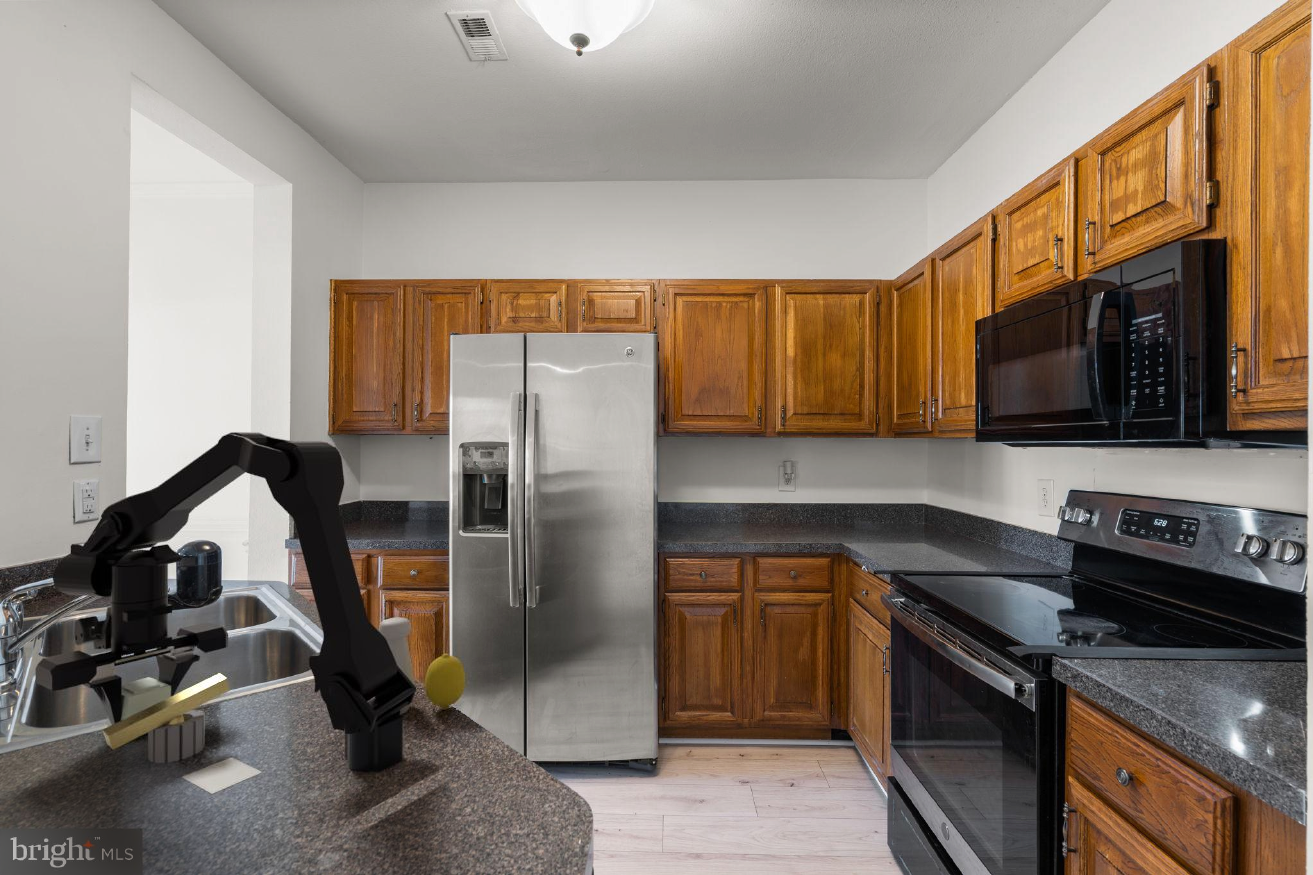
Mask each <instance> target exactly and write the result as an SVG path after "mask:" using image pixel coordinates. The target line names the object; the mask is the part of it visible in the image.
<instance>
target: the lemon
mask: <svg viewBox="0 0 1313 875" xmlns="http://www.w3.org/2000/svg"><path fill="white" fill-rule="evenodd" d="M465 688H466V672H465V668H464V666H463V663H462V662H461V660H459V659H458V658H457V657H455V656H453V655H449V653H443V654H442V655H441V656H439V657H437V658H436V659H434V660H433V661H432V662H431V663H430V665H429V666H428V668H427V670H426V674H425V679H424V689H425V693H426V697H427V699H428V700H429V701H430V702H431V703H432V704H433V705H435V706H437V707H440V708H441V709H442V710H443V711H444V710H448V708H450V706H451V705H454V704H455V703H456V702H458V701H459V700H460V698H461V697H462V695H463V694H464V691H465ZM448 704H449V705H450V706H449V705H448Z"/></svg>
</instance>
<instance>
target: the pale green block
mask: <svg viewBox="0 0 1313 875" xmlns="http://www.w3.org/2000/svg"><path fill="white" fill-rule="evenodd" d="M158 680H159V679H156V678H152V677H151V676H147V677H144V678H139V679H137V680H132V681H130V682H125V683H122V717H121V721H122V720H124V719H126V718H128V717H130V716H132V715H134V714H136V713H138V712H140V711H142V710H145V709H147V708H149V707H151V706H153V705H155V704H157V703H159V702H161V701H163V700H165V699H167V698H169V697H171V686H170V685H168V684H165V683H163V682H160V681H158ZM106 717H107V719H106V720H107V723H106V724H107V725H106V726H107V727H109V726H111V725H112V724H111V722H110V720H109V718H108V716H106ZM107 727H106V728H107Z"/></svg>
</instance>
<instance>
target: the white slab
mask: <svg viewBox="0 0 1313 875" xmlns="http://www.w3.org/2000/svg"><path fill="white" fill-rule="evenodd" d="M205 715H206V713H205V711H202V710H200V709H193V710H191V711H189V712H187V713H185V714H183V718H184V722H181V723H177V724H171V725H164V724H163V725H161V726H159V727H157V728H155V729H153V730H151V731H149V732H147V761H149V762H151V763H154V764H165V763H172V762H179V761H180V759H182V760H185V759H188V758H191V757H193V756H194V755H197V754H199V753H200V752H201V751H202V750H204V747H205V741H206V740H205V737H206V736H205V734H206V732H205V731H206V730H205V729H206V727H205V726H206V723H205V722H206V721H205V720H206V719H205V718H206V717H205ZM261 774H263V771H262V770H261V771H260V770H259V769H257V768H254V767H252V766H250V765H248V764H246V763H245V762H244V763H243V762H242V761H240V760H238V759H236V758H235V757H229V758H226V759H224V760H222V761H219V762H217V763H214V764H211V765H209V766H206V767H203V768H202V769H198V770H196V771H194V772H191V773H188V774H186V775H183V776H181V778H182V779H184V781H187V782H189V783H191V784H193V785H194V786H197V787H198V788H200V789H201V790H202V791H206V792H207V793H208V794H211V795H214V794H216V793H218V792H220V791H222V790H225V789H227V788H230V787H232V786H234V785H237V784H239V783H242V782H244V781H247V780H249V779H251V778H254V777H255V776H257V775H261Z"/></svg>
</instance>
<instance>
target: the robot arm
mask: <svg viewBox="0 0 1313 875" xmlns="http://www.w3.org/2000/svg"><path fill="white" fill-rule="evenodd" d="M342 459H343V458H342V456H341V453H340V451H339V449H338V448H337V447H336V446H333V445H331V443H328V442H325V441H321V440H320V441H307V440H306V441H302V440H301V441H299V440H297V441H293V440H287V439H284V438H278V437H272V436H269V435H266V434H263V433H260V432H247V431H246V432H240V431H239V432H238V431H236V432H234V431H233V432H229V433H227V434H225V435H222V436H221V437H220V438H219V440H218V442H217V443H216V444H214V446H212V447H211V448H209V449H208V450H206V451H205V452H203V453H202V454H201V455H199V456H198V457H196V458H195V459H194V460H193V461H191V462H190V463H188V464H186V466H184V467H183V468H182V469H180V470H178V471H177V472H176V473H175V474H173V475H172V476H170V477H169V478H168V479H166V480H165V481H164V482H162V483H161V484H159V485H158V486H157V487H154V488H151V489H149V490H146V491H143V492H140V493H136V494H132V495H130V496H127V497H125V498H122V499H120V500H118V501H116V502H114V503H111V504H110V505H108V506H107V507H105V509H104V510H103V512H102V514H101V515H100V517H101V518H100V520H99V521H98V523H97V524H96V526H95V527H94V529H93V530H92V532H91V533H90V535H89V537H88V539H87V540H86V541H84V542H77V543H72V544H70V553H69V554H67V555H66V556H64V557H63V558H62V559H61V560H59V562H58V563H57V565H56V567H55V570H54V572H53V573H52V581H53V585H54V587H55V588H56V589H57V591H59V592H60V593H62V594H65V595H69V596H86V597H88V596H89V597H102V598H103V597H105V598H107V597H109V598H110V606H108V607H106V608H107V609H106V612H105V619H103V620H99V619H98V617H97V616H96V615H93V616H89V617H84V618H83V617H82V618H78V619H77V620H74V630H73V631H74V632H73V634H74V642H75V644H76V646H83V645H86V644H91V643H93V648H94V650H95V651H96V650H97V651H99V650H102V649H103V650H110V651H107V652H102V653H98V654H95V655H91V654H88V653H86V652H84V651H81V650H74V651H71V652H66V653H62V654H56V655H52V656H47V657H46V656H45V657H43V658H42V659H41V660H39V662H38V664H37V665H36V666H35V672H34V673H35V675H34V676H35V679H34V680H35V683H36V684H38V685H40V686H41V687H43V688H46V689H48V690H50V691H52V692H54V691H62V690H66V689H69V688H70V689H71V688H74V687H77V686H84V687H87V688H89V689H92V690H93V692H94V693H95V695H96V696H97V697H98V699H99V700H100V703H101V705H102V707H103V709H104V711H105V713H106V715H107V716H106V717H108V718H109V720H110V722H111V724H112V725H113V724H116V723H118V722H120V721H121V717H122V684H123V682H122V681H123V680H122V678H123V677H122V676H119V675H117V674H115V667H117V666H121V665H125V664H129V663H134V662H138V661H142V660H146V659H150V658H154V657H155V658H156V663H157V666H158V679H157V680H158V681H160V682H163V683H165V684H168V685H170V686H171V697H172V696H174V695H176V694H175V693H176V692H177V689H178V688H179V686H180V684H181V682H182V681H183V680H184V678H185V676H186V675H187V674H188V671H189V670H190V668H191V667H192V665H193V664H194V663H196V662H199V661H200V660H201V656H200V655H199V654H196V649H197V650H199V651H201V652H202V653H205V654H207V653H211V652H215V651H218V650H222V649H227V648H228V647H229V633H228V631H227V629H226V628H225V627H224V626H220V625H217V624H213V623H210V622H202V623H199V624H194V625H193V624H192V625H189V626H184V627H179V629H178V631H177V633H176V636H171V635H169V634H168V631H169V629H168V627H169V626H168V625H169V622H168V621H169V620H168V618H169V617H168V614H173V604H170V603H169V602H168V600H169V598H168V597H169V565H171V564H175V563H180V562H182V561H183V557H182V555H180V553H179V552H177V551H175V550H173V549H172V548H171V546H170V545H169V544H160V545H158V544H159V543H164V542H165V543H166V542H168V541H170V540H172V539H173V538H174V537H175V536H176V535H177V534H178V533H179V532H180V531H181V530H182V529H183V528H184V527H185V526H186V525H187V524H188V522H189V519H190V518H189V516H190V514H191V513H192V511H194V509H195V508H197V507H199V506H200V505H201V504H202V503H204V502H205V501H207V500H209V499H210V498H211V497H213V496H214V495H216V494H217V493H219V491H221V490H223V489H224V488H225V487H227V486H228V485H230V484H231V483H232V482H234V481H236V480H237V479H238V478H240V477H241V476H243V475H244V474H246V473H247V474H249V475H252V476H255V477H259V478H263V479H265V481H266V484H267V486H268V488H269V491H270V493H271V495H272V498H273V500H275V502H277V504H279V506H280V507H281V508H283V510H285V512H286V513H287V514H288V515H289V516H290V517H291V518H292V521H293V522H294V526H295V530H296V533H297V538H298V541H299V544H300V549H301V553H302V556H303V561H304V564H305V569H306V572H307V573H306V574H307V577H308V579H309V582H310V587H311V590H312V595H313V599H314V603H315V606H316V611H317V614H318V618H319V621H320V626H321V629H322V635H323V639H322V643H321V646H320V650H319V652H317V653H314V654H312V655H310V656H309V657H308V664H309V665H308V666H309V668H310V671H311V673H312V676H313V678H314V692H315V693H318V692H319V694H320V696H321V699H322V701H323V702H324V704H325V706H326V709H327V712H328V716H329V719H330V723H331V726H332V729H333V730H337V731H342V732H343V733H344V757H345V760H346V761H347V768H348V769H349V770H351V771H353V772H359V773H361V772H362V773H369V772H376V773H381V772H383V771H385V770H388V769H389V768H391V767H393V766H395V765H397V764H399V763H402V761H403V759H404V715H402V714H400V710H401V709H402V708H404V707H405V706H407V705H409V704H411V705H412V703H413V701H414V699H415V696H416V693H415V692H417V687H416V685H415V686H414V684H413V683H412V682H411V681H410V680H409V678H408V677H407V676H406V675H405V674H404V673H403V671H402V670H401V669H400V668H399V667H398V666H397V663H396V661H395V658H394V656H393V654H392V651H391V649H390V647H389V644H388V642H387V640H386V638H385V637H384V636H383V635H382V634H381V633H380V632H379V629H378V628H377V627H376V626H374V624H372V623H371V622H370V620H369V617H368V614H367V612H366V611H367V610H366V607H365V603H364V599H363V595H362V592H361V588H360V585H359V581H358V577H357V574H356V569H355V566H354V562H353V557H352V554H351V550H350V547H349V543H348V539H347V535H346V531H345V528H344V525H343V521H342V516H341V513H340V502H341V498H342V496H343V495H342V494H343V490H344V487H345V477H344V476H345V474H344V466H343V460H342ZM149 548H150V549H149ZM414 695H415V696H414ZM374 697H375V698H374ZM372 698H374V699H372Z"/></svg>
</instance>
